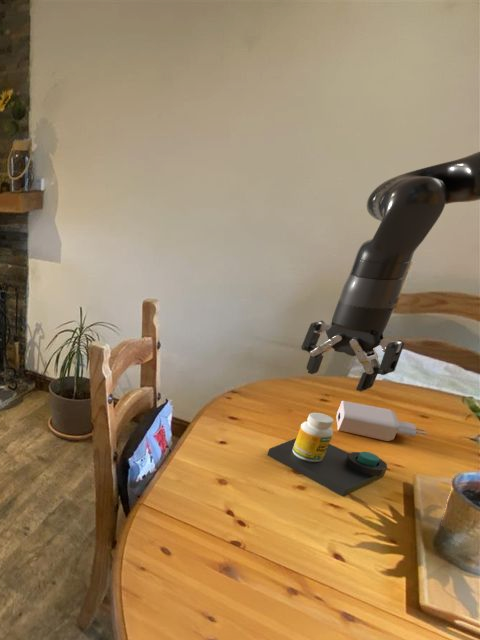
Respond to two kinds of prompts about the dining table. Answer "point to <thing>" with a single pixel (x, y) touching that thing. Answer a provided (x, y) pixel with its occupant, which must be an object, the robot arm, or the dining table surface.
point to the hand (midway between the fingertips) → (335, 381)
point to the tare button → (368, 458)
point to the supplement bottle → (314, 437)
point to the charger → (372, 422)
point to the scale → (331, 468)
